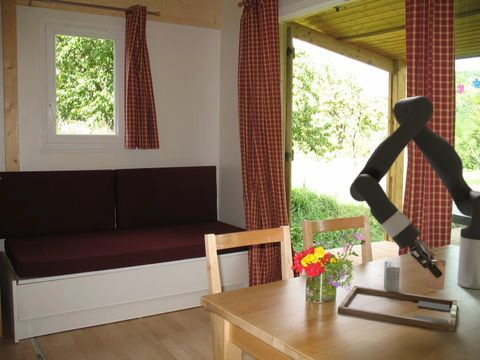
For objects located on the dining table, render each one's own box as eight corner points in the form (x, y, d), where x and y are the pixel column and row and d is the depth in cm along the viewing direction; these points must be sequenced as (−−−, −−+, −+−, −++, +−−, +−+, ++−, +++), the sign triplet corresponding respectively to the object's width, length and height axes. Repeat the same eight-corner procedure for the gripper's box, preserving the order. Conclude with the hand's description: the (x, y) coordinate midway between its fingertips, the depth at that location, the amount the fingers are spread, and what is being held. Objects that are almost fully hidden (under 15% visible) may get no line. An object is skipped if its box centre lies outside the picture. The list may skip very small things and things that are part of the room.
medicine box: (399, 293, 171) (400, 267, 170) (385, 292, 172) (386, 266, 171) (396, 286, 178) (397, 261, 177) (383, 285, 179) (384, 260, 178)
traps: (419, 301, 163) (419, 299, 163) (449, 305, 159) (449, 304, 159) (412, 323, 145) (412, 321, 145) (446, 328, 141) (446, 326, 141)
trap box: (354, 290, 173) (354, 283, 172) (456, 305, 159) (457, 298, 159) (337, 312, 152) (338, 304, 152) (454, 331, 139) (454, 323, 139)
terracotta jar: (426, 283, 154) (428, 257, 153) (444, 285, 152) (446, 259, 151) (425, 288, 149) (426, 261, 149) (443, 290, 147) (445, 263, 147)
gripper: (407, 225, 145) (450, 272, 142) (412, 217, 158) (452, 260, 155) (387, 241, 148) (428, 288, 145) (394, 232, 161) (432, 275, 158)
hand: (440, 273), depth 150 cm, fingers closed on terracotta jar, 5 cm apart
